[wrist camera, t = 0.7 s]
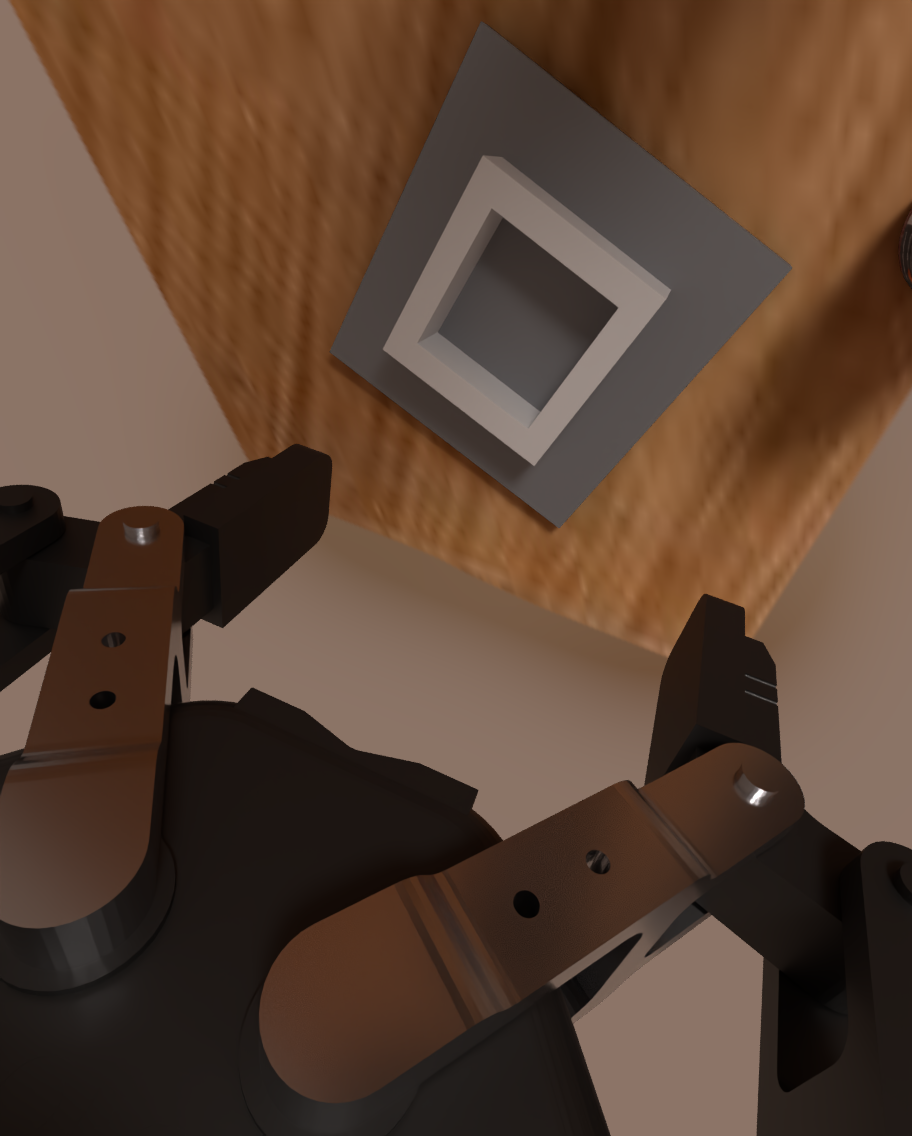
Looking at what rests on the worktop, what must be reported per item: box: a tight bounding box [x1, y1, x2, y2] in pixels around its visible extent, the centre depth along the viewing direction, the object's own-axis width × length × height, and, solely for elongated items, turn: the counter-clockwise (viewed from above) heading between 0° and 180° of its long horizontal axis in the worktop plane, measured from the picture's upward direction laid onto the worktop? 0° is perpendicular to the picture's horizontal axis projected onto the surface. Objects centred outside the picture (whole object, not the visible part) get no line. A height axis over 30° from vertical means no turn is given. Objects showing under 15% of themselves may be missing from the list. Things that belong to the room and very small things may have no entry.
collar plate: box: [330, 21, 792, 528], centre depth 34 cm, size 18×18×4 cm
